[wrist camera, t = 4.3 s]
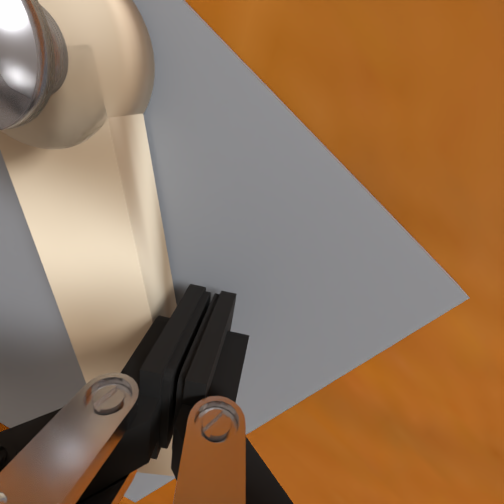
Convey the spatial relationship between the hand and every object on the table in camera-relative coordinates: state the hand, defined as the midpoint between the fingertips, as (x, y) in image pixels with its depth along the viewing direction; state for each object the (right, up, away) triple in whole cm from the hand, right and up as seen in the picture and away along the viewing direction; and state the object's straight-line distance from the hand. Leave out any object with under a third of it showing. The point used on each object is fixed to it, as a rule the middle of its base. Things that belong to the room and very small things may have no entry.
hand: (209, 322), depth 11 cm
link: (-3, +2, +1) cm, 4 cm away
